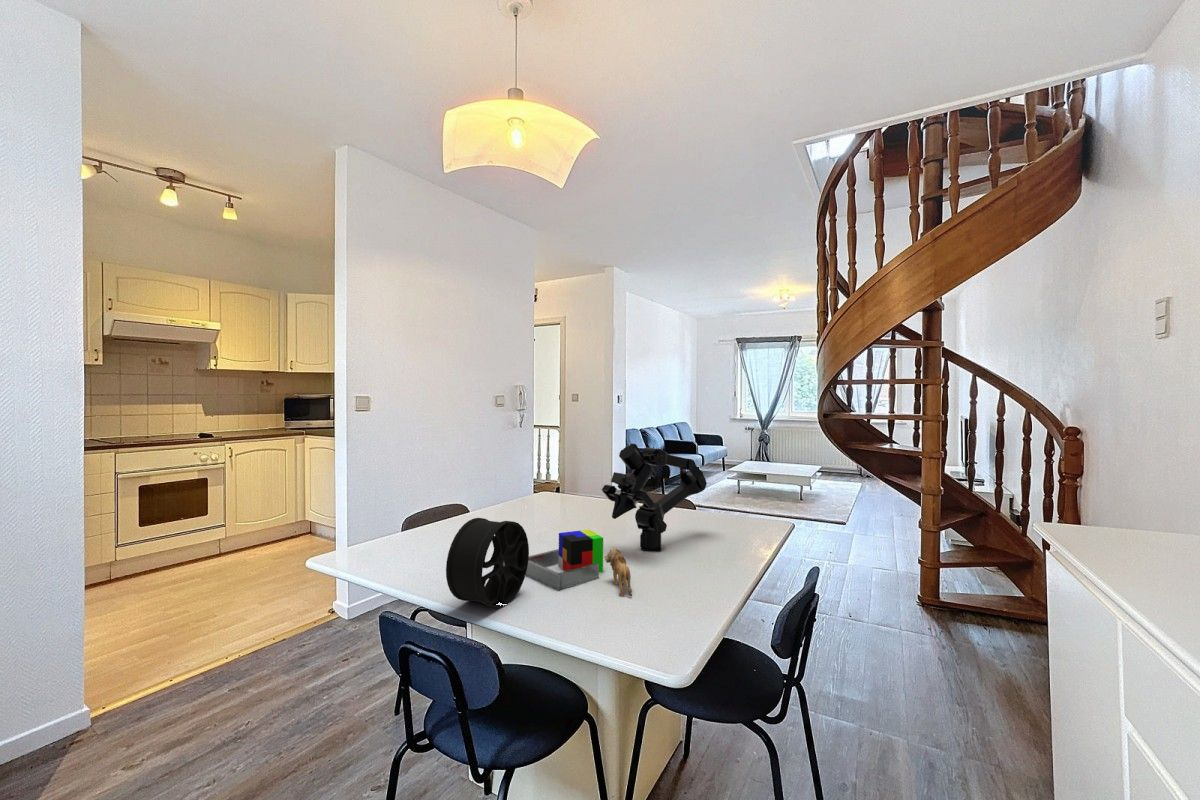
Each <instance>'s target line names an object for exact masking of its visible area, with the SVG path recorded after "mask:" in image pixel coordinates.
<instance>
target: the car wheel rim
mask: <svg viewBox="0 0 1200 800" xmlns="http://www.w3.org/2000/svg"><path fill="white" fill-rule="evenodd" d="M491 543H492V547H493V552H492V554H491V557H490V559H489V560H488V561H486V557H487V553H488V550H489V547H490V546H491ZM529 556H530V544H529V539H528V536H527V532H526V530H525V529H524V527H523V526H522V525H521V524H520V523H519V522H517V521H511V520H502V521H496V520H489V519H487V518H484V517H483V518H482V517H474V518H471V519H469V520H467V521H466V522H465V523H464V524H463V525H462V526H461V527H460V528H459V530H458V531H457V533H456V534H455V536H454V538H453V540H452V542H451V543H450V547H449V549H448V553H447V559H446V566H445V577H446V583H447V586H448V589H449V591H450V593H451V594H452V595H453V597H454V598H456V599H458V600H460V601H463V602H468V601H469V602H470V601H474V602H479V603H483V605H485V606H487V607H491V608H497V609H500V608H504V607H503V605H501V606H500V605H496V604H498V603H499V602H500V603H502V604H507V605H509V604H510V603H511V602H512V601H513V600H514V599H515V598H516V597H517V595H518V594H519V592H520V590H521V588H522V586H523V583H524V581H525V577H526V571H527V566H528V560H529ZM491 567H492V570H491V571H489V572H487V573H486V574H484V575H483V569H488V568H491ZM509 602H510V603H509ZM508 603H509V604H508Z"/></svg>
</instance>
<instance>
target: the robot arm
mask: <svg viewBox="0 0 1200 800" xmlns="http://www.w3.org/2000/svg"><path fill="white" fill-rule="evenodd" d="M618 456H619V458H620V459H621V461H622V462H623V463H624V464H625V466H626V467H627V468H628V470H632V471H631V472H627V473H622V472H613V474H612V477H611V480H610V482H611V483H613V484H616V486H617V487H616V486H615V485H611V484H604V485H603V487H602V488H601V491H602V493H603V494H604V495H605V496H606V498H608V500H610V501H611V502H614V503H613V504H614V505H613V510H612V514H611V518H612V519H613V520H615V519H617V518H619V517H621V516H622V515H624V514H626V513H628V512H630V511H631V510H634V509H637V505H638V503H643V504H641V505H638V509H637V510H636V511H635V515H634V517H635V522H636V526H637V529H638V530H641V533H640V535H639V537H640V539H639V542H640V543H639V546H640V550H641V551H650V552H651V551H653V552H661V551H662V547H663V546H662V534H663V533H664V532H666V530H667V523H666V522H665V521H664V517H665V515H666V514H667V513H668V512H670V511H671V510H673V508H675V507H676V506H677V505H678V504H680V503H681V502H682V501H684V500H685V499H687V497H689V496H692V495H696V494H700V493H702V492H704V490H705V489H706V487H707V484H708V483H707V479H706V477H705V474H704V473H703V471H702V470H701V469H700V468H699V467H698V466H697V464H696V462H695V460H694V459H693V458H688V457H681V456H677V455H672V454H669V453H667V451H665V450H664V449H662V448H656V447H644V448H643V449H642V450H640V449H639V447H638V445H637V444H636V443H633V442H632V443H630V444H629V445H628V446H626V447H623V448H622V449H621V450H620V451H619V454H618ZM652 466H656V467H664V466H669V467H674V468H679V478H680V480H679V485H678V486H676V487H675V488H673V489H672V490H671V491H669V492H668V493H667V494H666V495H664V496H663V497H662V498H660V499H658V500H657V501H656V502H654V500H653V499H652V497H651V496H650V495H649V493H648V492H647V491H646V489H647V488H646V486H645V485H646V483H647V482H648V480H649V479H650V478H656V477H657V474H656V469H655V468H653V467H652ZM687 471H688V472H689V473H687Z"/></svg>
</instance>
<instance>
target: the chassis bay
mask: <svg viewBox="0 0 1200 800" xmlns="http://www.w3.org/2000/svg"><path fill="white" fill-rule="evenodd" d="M555 565H559V548H556V549H552V550H548V551H544V552H540V553H537V554H532V555H529V560H528V566H527V571H526V575H525V577H528V578H531V579H533V580H535V581H536V582H540V583H541V584H544V586H545V585H546V586H547V587H550V588H551V587H552V589H553V590H556V591H558V590H559V591H561V590H565V589H567V588H571V587H575V586H578V585H581V584H584V583H587V582H590V581H594V580H597V579H599V578H600V573H599V564H598V563H593V564H590V565H586V566H582V567H579V568H575V569H572V570H568V571H561V572H558V571H556V570H553V569H550V568H549V567H551V566H555Z"/></svg>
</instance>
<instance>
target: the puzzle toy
mask: <svg viewBox="0 0 1200 800" xmlns="http://www.w3.org/2000/svg"><path fill="white" fill-rule="evenodd" d="M558 549H559V564H558V567H559V568H560V569H561V570H562V569H563V570H562V571H563V572H565V571H568V570H572V569H575V568H579V567H582V566H586V565H590V564H593V563H598V564H599V572H600V573H603V572H604V537H603V536H602V535H600V534H598V533H596V532H594V531H593V530H591V529H582V530H573V531H566V532H564V531H563V532H558Z"/></svg>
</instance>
